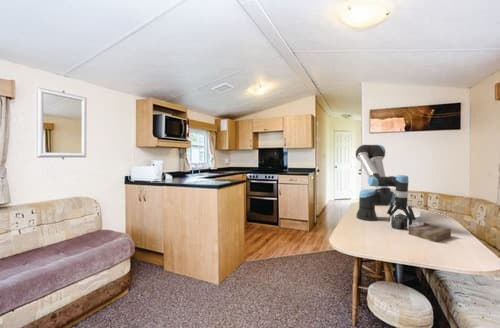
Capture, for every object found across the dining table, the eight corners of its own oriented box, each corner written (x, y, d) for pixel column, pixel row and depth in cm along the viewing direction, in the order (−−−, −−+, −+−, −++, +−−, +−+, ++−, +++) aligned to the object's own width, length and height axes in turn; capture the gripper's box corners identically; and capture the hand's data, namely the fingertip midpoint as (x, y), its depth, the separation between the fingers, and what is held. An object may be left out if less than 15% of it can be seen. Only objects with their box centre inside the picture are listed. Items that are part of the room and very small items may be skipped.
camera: (406, 231, 171) (407, 217, 170) (390, 228, 177) (391, 214, 176) (408, 226, 181) (409, 213, 181) (393, 224, 188) (393, 211, 187)
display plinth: (408, 234, 165) (408, 225, 165) (423, 230, 174) (424, 222, 173) (435, 242, 151) (435, 233, 151) (450, 237, 159) (451, 229, 159)
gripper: (382, 194, 187) (381, 222, 188) (415, 200, 165) (414, 232, 167) (388, 193, 190) (387, 221, 191) (422, 199, 169) (420, 230, 170)
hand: (400, 226), depth 179 cm, fingers open, 12 cm apart
